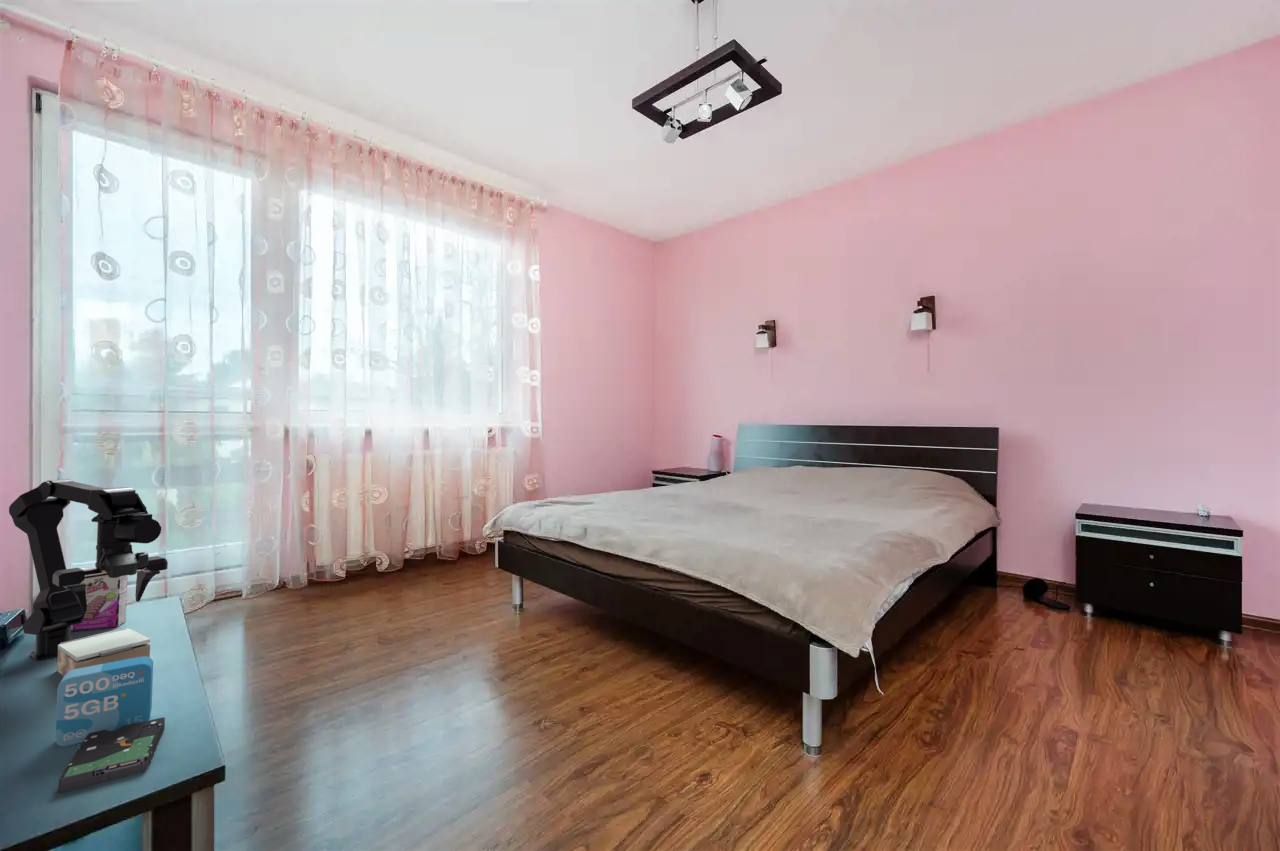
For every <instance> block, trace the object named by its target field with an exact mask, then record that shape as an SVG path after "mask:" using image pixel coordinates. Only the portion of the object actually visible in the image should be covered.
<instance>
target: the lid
mask: <svg viewBox="0 0 1280 851" xmlns="http://www.w3.org/2000/svg"><path fill="white" fill-rule="evenodd" d="M146 643H148V644H150V643H151V638H150V637H147V636H145V635H143V634H141V633H138V632H137V631H135V630H134V629H132V628H126V627H123V628H120V629H116V630H115V629H114V630H111V631H106V632H103V633H97V634H93V635H88V636H85V637H79V638H76V639H70V641H66V642H61V643H60V644H59V645H58V649H60V650H61V651H63V652H64V653H66V654H67V655H68V656H70V657H71V658H73V659H74V660H76V661H79V660H83V659H87V658H91V657H95V656H99V655H100V656H105V655H109V654H113V653H117V652H121V651H124V650H128V649H132V647H134V646H138V645H142V644H146Z"/></svg>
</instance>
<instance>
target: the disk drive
mask: <svg viewBox="0 0 1280 851" xmlns="http://www.w3.org/2000/svg"><path fill="white" fill-rule="evenodd" d="M165 723H166V717H159V718H155V719H154V718H153V719H149V721H144V722H140V723H134V724H129V725H125V726H122V727H120V728H119V729H117V730H115V731H107V730H101V731H97V732H92V733H89V734H88V735H87V737H86V738H85V739H84V742H83V743H80V746H79V748H78V749H77V751H76V752H75V754H74V755H73V757H72V758H71V759H70V762H68V764H67V766H66V767H65V769H64V770H63V771H62V773H61V775H60V776H59V778H58V789H57V790H58V793H59V792H61V793H64V792H69V791H72V790H76V789H79V788H83V787H84V788H85V787H88V786H92V785H96V784H100V783H102V782H108V781H111V780H116V779H119V778H123V776H124V777H126V775H128V776H131V774H132V775H135V773H136V774H139V773H138V772H140V773H142V772H141V771H144V772H146V771H145V770H147V769H148V770H149V767H150V764H151V763H152V761H153V758H152V757H154V754H155V753H156V750H157V748H158V746H159V742H160V740H161V738H162V736H163V734H164V731H165V726H166V724H165ZM157 745H158V746H157ZM154 752H155V753H154ZM151 760H152V761H151ZM148 766H149V767H148ZM148 770H147V771H148Z"/></svg>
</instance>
